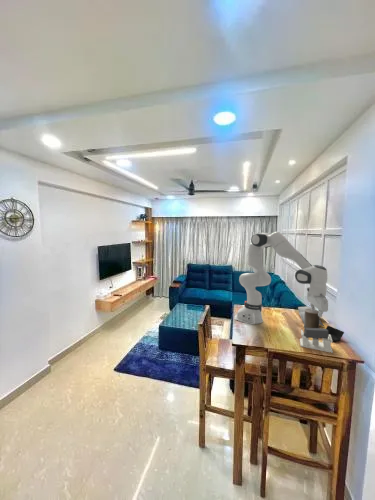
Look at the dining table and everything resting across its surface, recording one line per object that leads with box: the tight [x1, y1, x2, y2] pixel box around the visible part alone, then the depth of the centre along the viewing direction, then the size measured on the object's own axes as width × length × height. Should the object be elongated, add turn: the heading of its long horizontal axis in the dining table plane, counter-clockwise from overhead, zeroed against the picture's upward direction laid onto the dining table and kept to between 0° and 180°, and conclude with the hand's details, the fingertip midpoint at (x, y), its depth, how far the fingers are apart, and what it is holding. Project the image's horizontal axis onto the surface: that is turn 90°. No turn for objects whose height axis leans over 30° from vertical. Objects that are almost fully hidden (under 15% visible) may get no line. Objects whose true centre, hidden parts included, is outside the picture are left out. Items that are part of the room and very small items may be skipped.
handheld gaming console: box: [325, 325, 345, 342], centre depth 148 cm, size 11×10×4 cm
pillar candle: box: [303, 309, 320, 329], centre depth 161 cm, size 10×10×15 cm
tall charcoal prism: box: [303, 327, 328, 339], centre depth 136 cm, size 13×3×5 cm, turn 86°
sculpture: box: [297, 305, 326, 328], centre depth 180 cm, size 25×19×10 cm
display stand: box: [299, 329, 333, 354], centre depth 136 cm, size 17×10×8 cm, turn 65°
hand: (316, 313), depth 136 cm, fingers open, 8 cm apart
